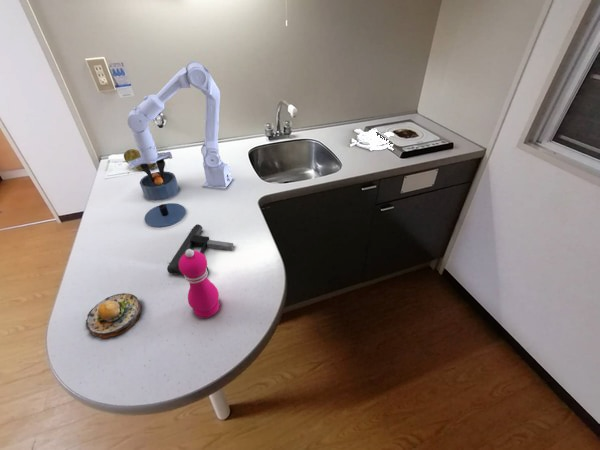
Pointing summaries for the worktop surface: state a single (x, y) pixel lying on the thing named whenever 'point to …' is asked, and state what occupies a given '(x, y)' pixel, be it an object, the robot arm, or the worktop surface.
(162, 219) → the lid
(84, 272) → the worktop surface
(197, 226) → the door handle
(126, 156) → the potato
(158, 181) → the carrot
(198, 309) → the pepper mill
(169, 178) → the pot
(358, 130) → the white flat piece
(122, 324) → the burger on plate
